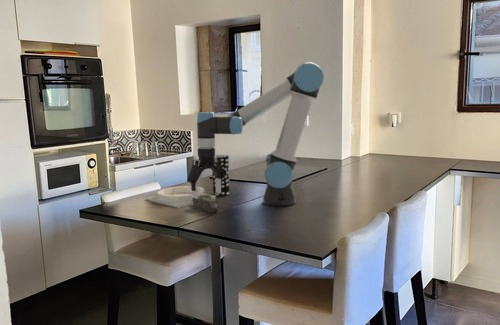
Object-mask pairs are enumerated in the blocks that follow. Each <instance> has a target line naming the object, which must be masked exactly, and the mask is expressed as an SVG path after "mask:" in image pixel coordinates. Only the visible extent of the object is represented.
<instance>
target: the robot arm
mask: <svg viewBox="0 0 500 325" xmlns="http://www.w3.org/2000/svg"><path fill="white" fill-rule="evenodd" d="M324 78H325V77H324V71H323V69H322V68H321V67H320V65H318V64H317V63H315V62H310V61H309V62H304V63H302V64H300V65H298V67H297V68H296V70H294V72H293V73H291V74H290V75H289V76H287V77H285V80H284V82H282V83H280V84H279V85H277V86H275V87H274V88H272V89H271V90H270V89H269V91H267V92H265V93H264V94H262V95H260V96H259V97H257V98H256V99H253V100H252V101H250V102H249V103H247V104H245V105H244V106H242V107H241V108H239V109H237V110H236V111H234V112H233V113H231V114H229V115H228V116H227V115H226V116H217V115H215V112H214V111H199V112H198V113H197V117H196V119H197V120H196V126H197V127H196V128H197V129H196V130H197V131H196V132H197V147H198V148H197V157H198V160H197V159H192V165H191V168H190V171H189V174H188V177H187V181H186V182H187V183H190V186H191V190H192V194H193V198H196V199H197V198H198V187H199V186H198V184H199V183H197V182H198V181H199V178H200V177H201V175H202V174H203V172H204V171H205V170H208V169H210V170H211V172H212V171H213V173H214V174H215V175H216V177H217V178H216V193H221V185H222V179H223V178H224V177H225V173H224V170H223V168H222V165H221V163H220V158H219V157H214V156H215V155H216V148H215V146H216V135H232V136H233V135H241V134H242V133H243V127H244V126H246V125H247V124H249V123H251V122H252V121H254V120H256V119H258V118H259V117H261V116H263V115H265V114H266V113H267V112H269V111H271V110H273V109H274V108H276V107H277V106H280V105H281V104H283V103H284V102H286V101H288V100H289V99H290V101H289V105H288V107H287V111H286V115H285V118H284V121H283V125H282V127H281V131H280V134H279V138H278V140H277V144H276V148H275V149H274V150H273V151H271V152H270V153H268V154H267V155H266V159H265V161H266V168H265V170H264V179H265V180H266V189H265V191H264V194H263V198H262V200H263V202H262V203H263V204H264V205H267V206H272V207H273V206H274V207H286V206H292V205H294V204H296V203H297V200H296V198H297V197H296V195H295V192H294V189H293V188H294V187H293V181H292V180H293V178H294V171H295V167H296V164H297V162H298V160H297V158H296V152H297V149H298V146H299V143H300V140H301V136H302V133H303V131H304V127H305V123H306V121H307V117H308V114H309V111H310V107H311V105H312V102H313V101H315V100H317V98H318V95H319V92H320V89H321V86H322V85H323V83H324V80H325V79H324ZM214 162H215V165H216V166H215V165H214ZM216 167H217V168H216Z"/></svg>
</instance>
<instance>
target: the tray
mask: <svg viewBox="0 0 500 325" xmlns="http://www.w3.org/2000/svg"><path fill="white" fill-rule="evenodd" d="M205 195H208V196H210V197H211V198H214V199H217V196H215V195H213V194H209V193H205ZM146 201H149V202H153V203H157V204H161V205H164V206H165V205H166V206H168V207H173V208H177V209H178V208H183V207H187V206H191V205H190V202H187V203H183V204H179V205H177V204H173V203H169V202H165V201H161V200H158V194H157V195H153V196H148V197H146Z"/></svg>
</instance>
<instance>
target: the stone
mask: <svg viewBox="0 0 500 325" xmlns="http://www.w3.org/2000/svg"><path fill="white" fill-rule="evenodd" d="M192 201H193V205H194V206H193V208H195V209H198V210H201V211H204V213H210V214H212V213H215V212H216V211H219V209H220V204H219V201H218V200H217V198H215V199H214V198H211V197H210V196H208V195H201V196H199V197H198V198H197V199H196V198H192Z"/></svg>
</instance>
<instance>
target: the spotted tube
mask: <svg viewBox="0 0 500 325" xmlns="http://www.w3.org/2000/svg"><path fill="white" fill-rule="evenodd" d="M214 157H219V158H220V163H221V165H222V168H223V170H224V173H225V177H224V178H223V179H222V185H221V193H216V178H217V177H216V175H215V174H214V173H213V171H212V170H211V172H212V174H211V175H212V195H215V196H216V197H228V196H230V195H231V194H230V192H231V190H230V159H229V158H230V157H229V155H226V154H215V156H214ZM214 165H215V162H214ZM215 166H216V165H215ZM216 168H217V167H216Z"/></svg>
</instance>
